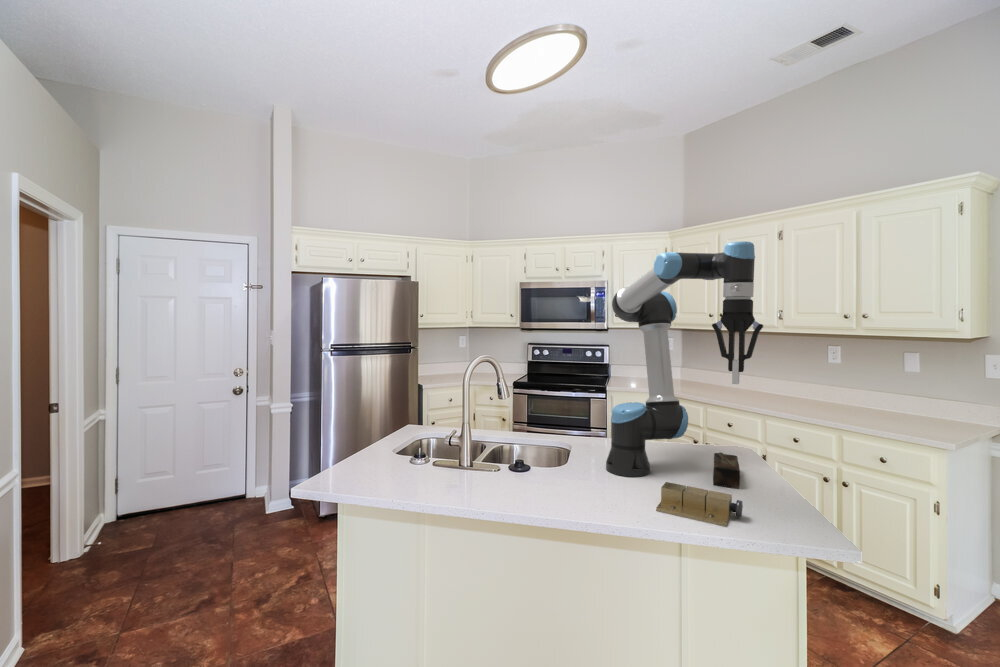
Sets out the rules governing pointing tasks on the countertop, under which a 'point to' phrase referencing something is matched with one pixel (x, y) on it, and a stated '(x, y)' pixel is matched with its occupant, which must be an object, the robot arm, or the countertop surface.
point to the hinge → (695, 503)
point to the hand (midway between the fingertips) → (735, 383)
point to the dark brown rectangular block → (726, 470)
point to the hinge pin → (736, 508)
